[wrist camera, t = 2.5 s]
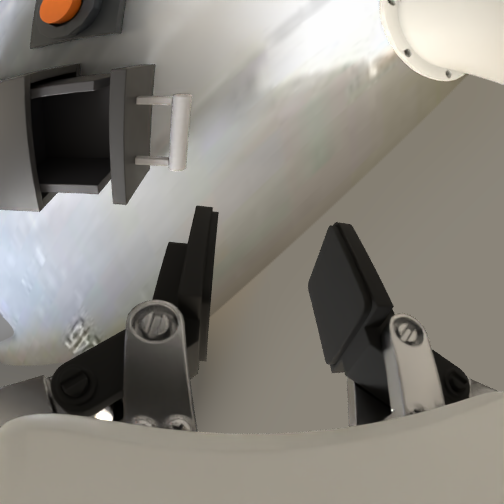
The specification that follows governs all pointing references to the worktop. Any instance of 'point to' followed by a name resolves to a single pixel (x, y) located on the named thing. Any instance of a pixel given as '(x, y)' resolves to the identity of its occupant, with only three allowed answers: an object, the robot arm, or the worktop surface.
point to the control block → (79, 23)
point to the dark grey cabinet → (22, 140)
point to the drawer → (103, 131)
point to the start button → (59, 10)
